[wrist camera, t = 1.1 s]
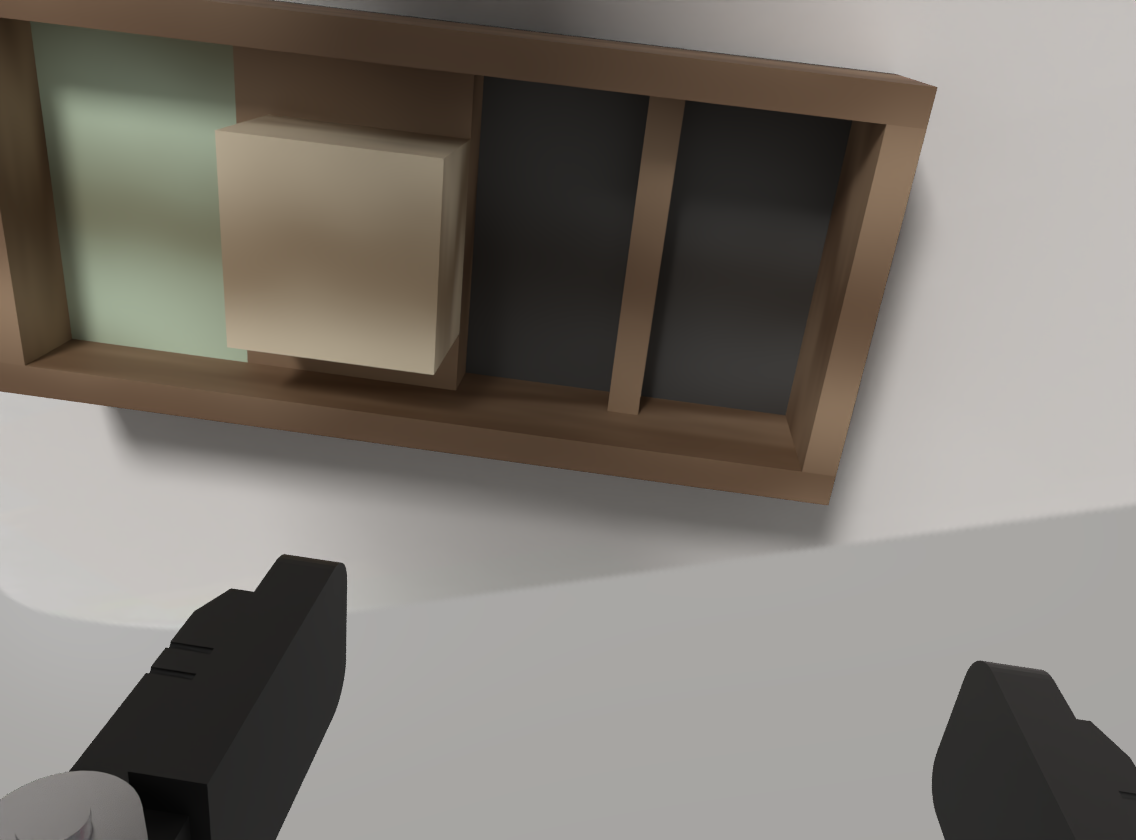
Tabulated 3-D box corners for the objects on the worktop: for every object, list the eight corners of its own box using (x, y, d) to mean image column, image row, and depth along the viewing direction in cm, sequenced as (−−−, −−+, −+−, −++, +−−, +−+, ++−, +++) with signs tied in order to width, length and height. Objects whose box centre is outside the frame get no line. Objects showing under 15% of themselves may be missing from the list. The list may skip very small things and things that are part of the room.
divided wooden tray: (33, -28, 28) (-75, -33, 24) (895, 74, 27) (937, 87, 23) (80, 342, 33) (-2, 391, 29) (806, 440, 32) (828, 505, 28)
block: (269, 114, 27) (214, 130, 24) (470, 139, 27) (443, 158, 23) (275, 308, 29) (227, 347, 26) (459, 333, 29) (433, 375, 26)
